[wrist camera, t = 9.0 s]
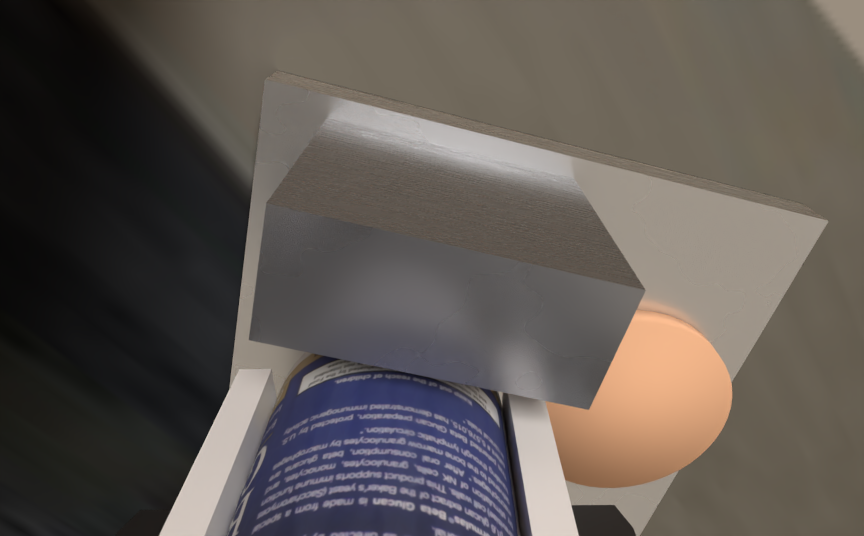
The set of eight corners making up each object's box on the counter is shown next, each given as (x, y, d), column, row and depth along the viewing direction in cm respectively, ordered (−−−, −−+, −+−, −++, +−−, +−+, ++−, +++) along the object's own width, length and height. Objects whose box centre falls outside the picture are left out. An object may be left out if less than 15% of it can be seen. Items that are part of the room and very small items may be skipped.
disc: (481, 358, 17) (482, 371, 16) (692, 276, 15) (701, 287, 15) (557, 495, 19) (560, 510, 19) (744, 434, 18) (753, 449, 17)
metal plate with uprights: (230, 457, 20) (142, 666, 14) (278, 70, 14) (164, 146, 8) (616, 528, 22) (685, 744, 16) (802, 203, 16) (1024, 348, 10)
